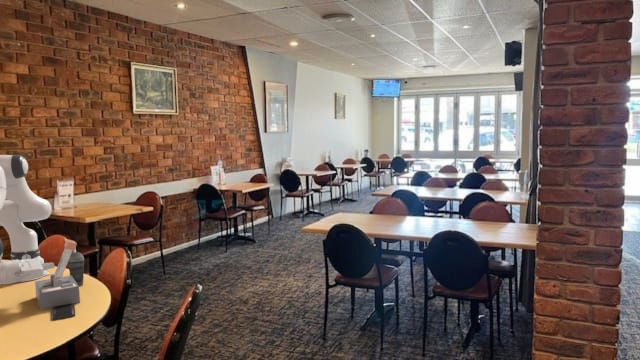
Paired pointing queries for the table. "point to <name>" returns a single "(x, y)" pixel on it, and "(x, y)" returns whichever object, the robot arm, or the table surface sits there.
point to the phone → (63, 311)
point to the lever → (64, 258)
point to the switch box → (57, 292)
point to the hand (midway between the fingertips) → (54, 265)
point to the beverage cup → (76, 267)
